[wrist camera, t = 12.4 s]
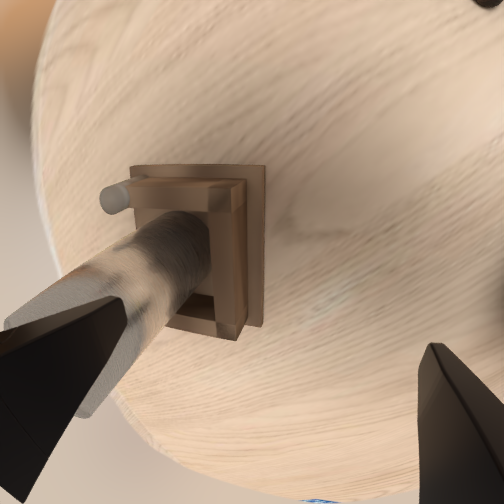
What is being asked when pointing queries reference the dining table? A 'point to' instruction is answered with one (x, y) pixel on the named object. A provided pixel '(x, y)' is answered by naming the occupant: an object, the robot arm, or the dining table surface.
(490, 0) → the wrench
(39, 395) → the robot arm
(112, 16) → the dining table surface
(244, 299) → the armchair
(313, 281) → the dining table surface
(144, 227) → the grey cylinder
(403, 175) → the dining table surface
